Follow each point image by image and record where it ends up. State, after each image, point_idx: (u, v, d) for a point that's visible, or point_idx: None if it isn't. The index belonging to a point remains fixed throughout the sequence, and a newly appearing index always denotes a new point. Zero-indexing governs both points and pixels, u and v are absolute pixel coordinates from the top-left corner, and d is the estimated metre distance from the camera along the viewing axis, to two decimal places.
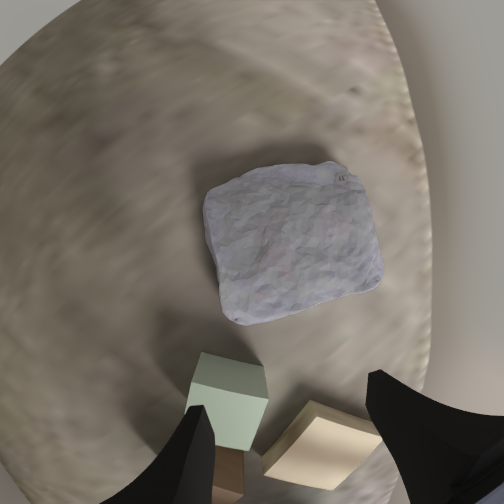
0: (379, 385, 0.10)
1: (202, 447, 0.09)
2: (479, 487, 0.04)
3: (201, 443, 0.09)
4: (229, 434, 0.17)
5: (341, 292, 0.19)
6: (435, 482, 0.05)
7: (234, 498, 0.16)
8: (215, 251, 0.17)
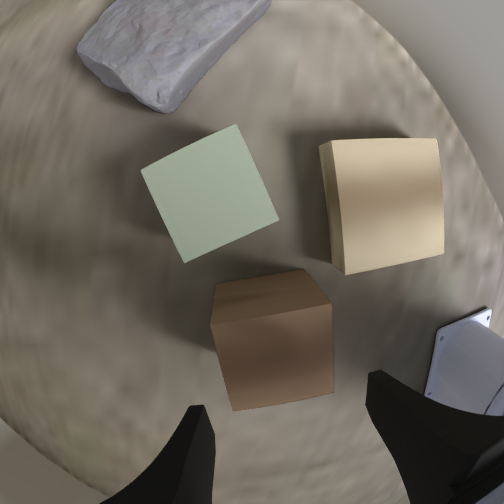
0: (379, 385, 0.10)
1: (202, 447, 0.09)
2: (479, 487, 0.04)
3: (201, 443, 0.09)
4: (234, 210, 0.13)
5: (239, 13, 0.13)
6: (435, 482, 0.05)
7: (324, 319, 0.14)
8: (100, 61, 0.12)
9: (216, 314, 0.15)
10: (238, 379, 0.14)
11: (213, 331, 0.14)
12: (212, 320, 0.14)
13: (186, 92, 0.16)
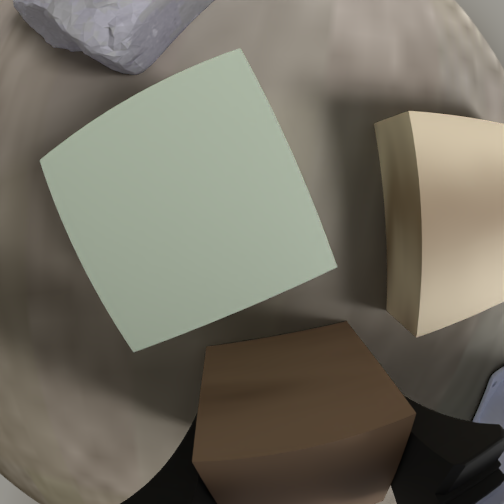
0: None
1: None
2: (466, 496, 0.04)
3: None
4: (235, 245, 0.06)
5: None
6: (421, 489, 0.05)
7: (398, 436, 0.06)
8: (31, 2, 0.04)
9: (204, 433, 0.07)
10: None
11: (199, 469, 0.06)
12: (196, 448, 0.06)
13: (166, 37, 0.08)
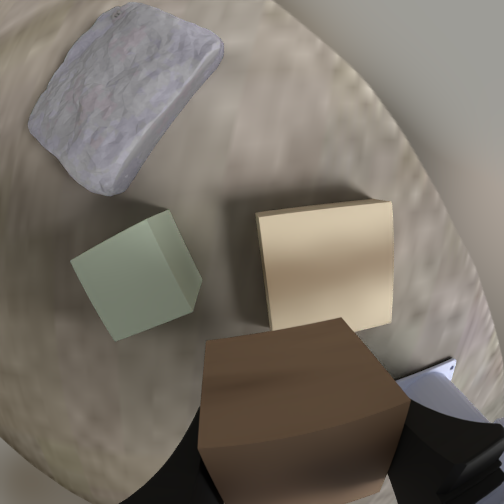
0: None
1: None
2: (467, 495, 0.04)
3: None
4: (150, 301, 0.14)
5: (181, 80, 0.13)
6: (422, 489, 0.05)
7: (394, 423, 0.07)
8: (46, 147, 0.13)
9: (208, 421, 0.07)
10: (246, 501, 0.07)
11: (204, 456, 0.06)
12: (201, 435, 0.07)
13: (134, 172, 0.16)
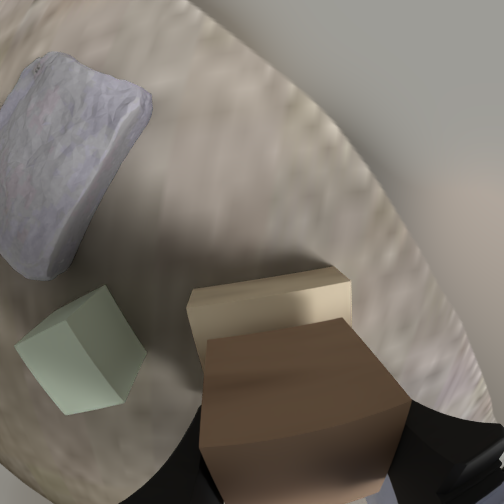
0: None
1: None
2: (467, 495, 0.04)
3: None
4: (86, 390, 0.12)
5: (97, 155, 0.11)
6: (422, 489, 0.05)
7: (395, 423, 0.07)
8: None
9: (209, 420, 0.07)
10: (246, 500, 0.07)
11: (205, 455, 0.06)
12: (202, 434, 0.07)
13: (72, 252, 0.14)
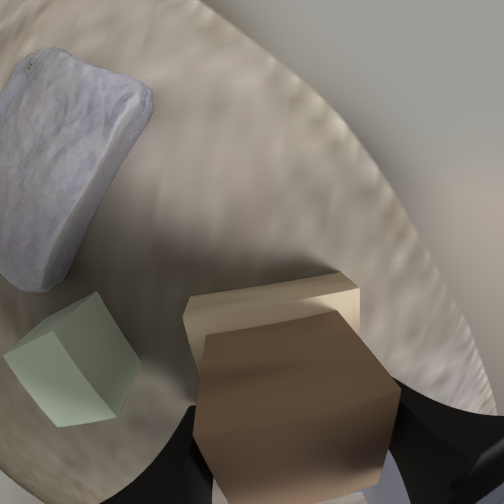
0: None
1: None
2: (479, 487, 0.04)
3: None
4: (77, 403, 0.11)
5: (93, 157, 0.10)
6: (435, 482, 0.05)
7: (386, 413, 0.07)
8: None
9: (204, 409, 0.08)
10: (243, 490, 0.07)
11: (199, 443, 0.07)
12: (196, 423, 0.07)
13: (68, 261, 0.13)
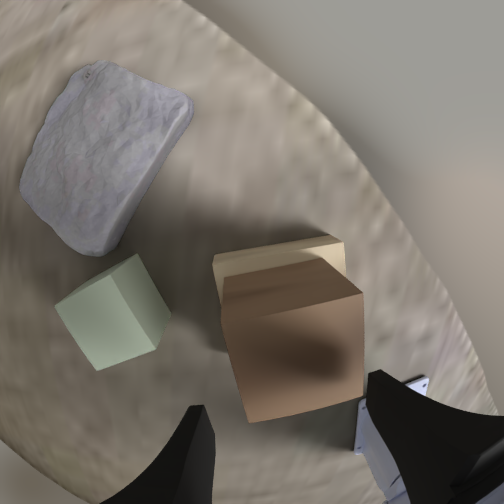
0: (379, 385, 0.10)
1: (202, 447, 0.09)
2: (479, 487, 0.04)
3: (201, 443, 0.09)
4: (121, 340, 0.15)
5: (153, 148, 0.15)
6: (435, 482, 0.05)
7: (355, 312, 0.12)
8: (39, 216, 0.14)
9: (227, 311, 0.12)
10: (255, 387, 0.12)
11: (225, 332, 0.11)
12: (222, 318, 0.12)
13: (122, 231, 0.18)
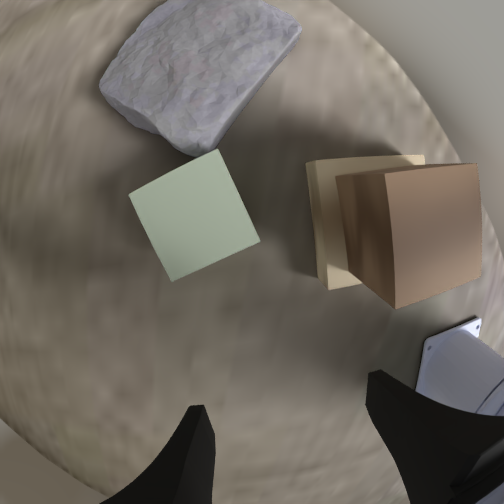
0: (379, 385, 0.10)
1: (202, 447, 0.09)
2: (479, 487, 0.04)
3: (201, 443, 0.09)
4: (217, 232, 0.14)
5: (272, 54, 0.14)
6: (435, 482, 0.05)
7: (474, 180, 0.11)
8: (131, 106, 0.14)
9: (377, 173, 0.11)
10: (407, 255, 0.11)
11: (388, 182, 0.10)
12: (380, 173, 0.11)
13: (221, 137, 0.17)
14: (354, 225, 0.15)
